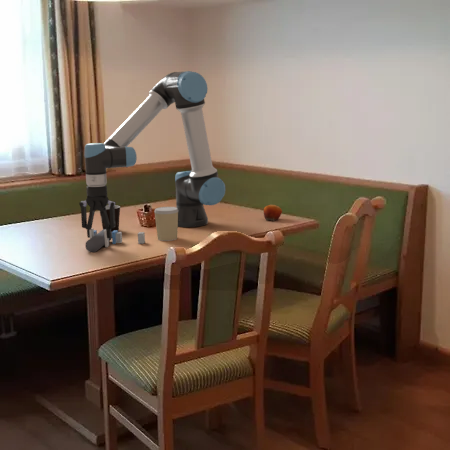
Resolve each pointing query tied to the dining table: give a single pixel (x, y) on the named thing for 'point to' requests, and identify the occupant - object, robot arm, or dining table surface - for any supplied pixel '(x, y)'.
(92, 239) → the dark gray cylinder
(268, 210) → the fruit
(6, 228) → the dining table surface
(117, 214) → the coffee mug
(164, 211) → the coffee cup
